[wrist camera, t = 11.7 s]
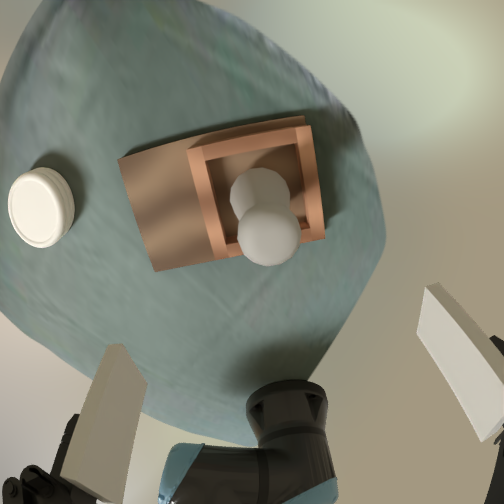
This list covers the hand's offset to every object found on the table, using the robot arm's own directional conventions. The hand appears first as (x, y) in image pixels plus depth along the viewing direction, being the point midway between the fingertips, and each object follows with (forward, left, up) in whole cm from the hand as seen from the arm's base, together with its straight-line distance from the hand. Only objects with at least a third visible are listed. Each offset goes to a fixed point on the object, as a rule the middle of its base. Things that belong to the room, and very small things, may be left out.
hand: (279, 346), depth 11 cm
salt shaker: (+1, -1, -22) cm, 22 cm away
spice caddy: (+1, +3, -23) cm, 23 cm away
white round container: (+6, +26, -23) cm, 36 cm away
